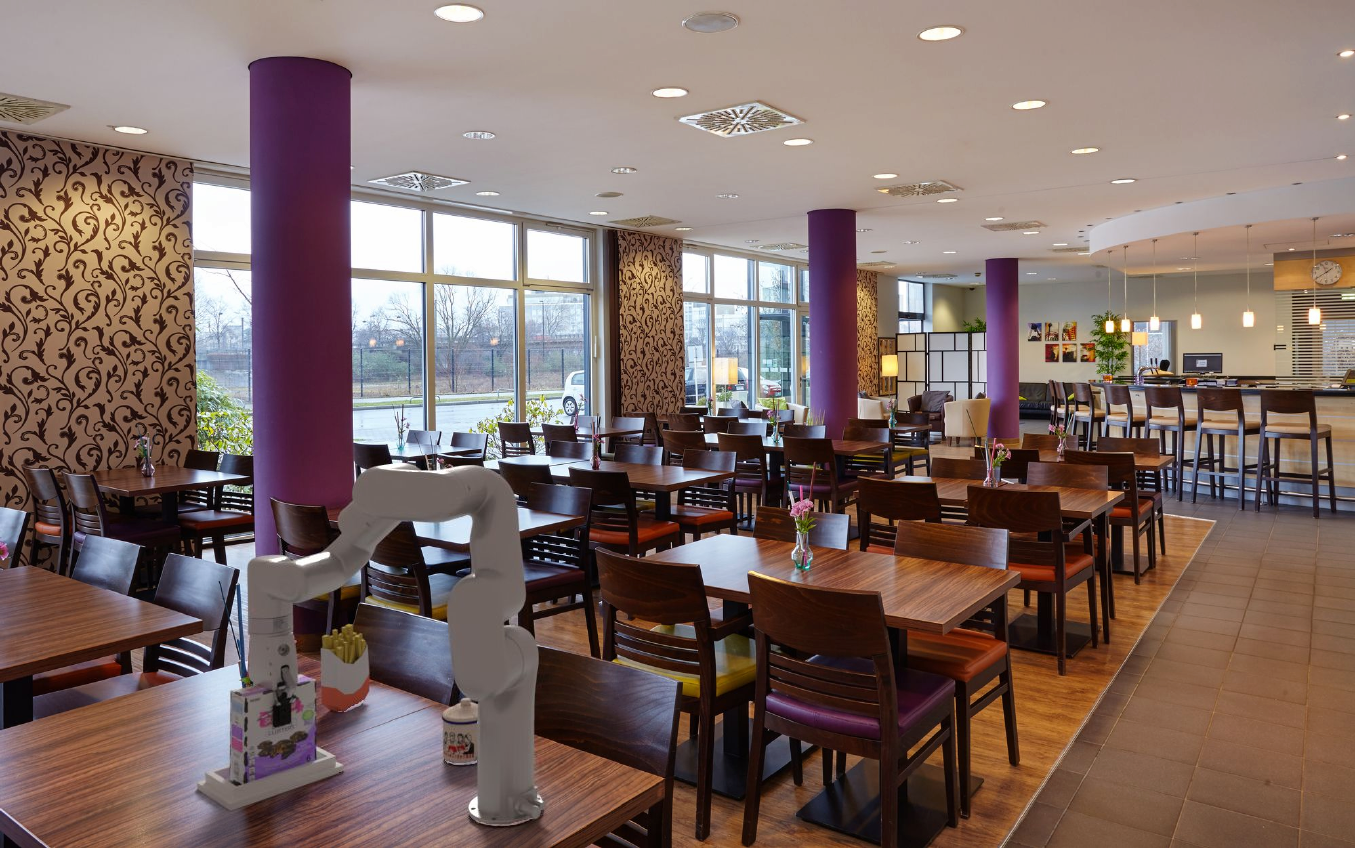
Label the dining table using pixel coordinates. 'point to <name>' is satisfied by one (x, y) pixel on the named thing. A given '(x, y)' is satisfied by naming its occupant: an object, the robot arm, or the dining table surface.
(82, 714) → the dining table surface
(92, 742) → the dining table surface
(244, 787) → the grey rectangular tray
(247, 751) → the candy box
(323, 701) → the french fries container
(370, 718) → the dining table surface
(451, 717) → the teacup with lid
